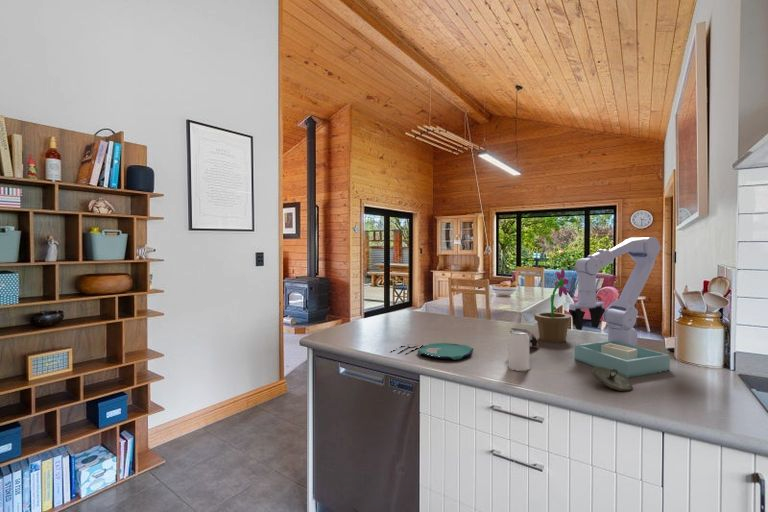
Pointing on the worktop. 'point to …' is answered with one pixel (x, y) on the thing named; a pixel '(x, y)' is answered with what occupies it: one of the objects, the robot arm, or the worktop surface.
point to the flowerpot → (554, 316)
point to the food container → (526, 331)
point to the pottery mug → (534, 341)
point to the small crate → (619, 351)
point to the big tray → (641, 366)
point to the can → (518, 350)
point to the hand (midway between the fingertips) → (586, 328)
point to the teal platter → (447, 350)
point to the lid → (612, 378)
